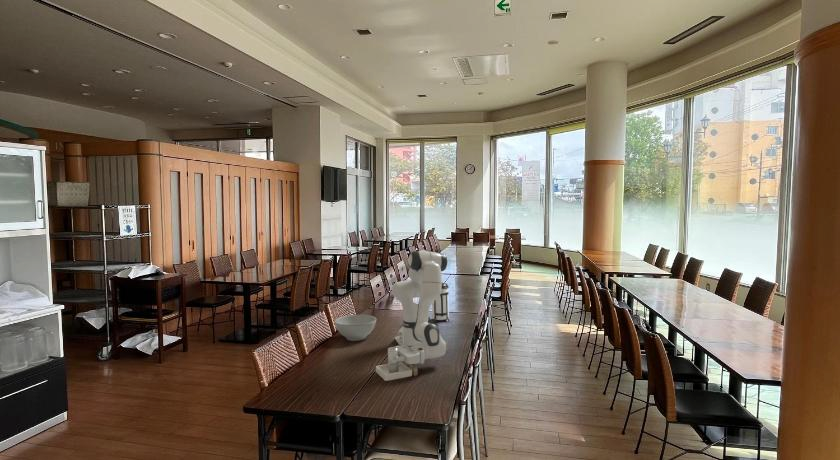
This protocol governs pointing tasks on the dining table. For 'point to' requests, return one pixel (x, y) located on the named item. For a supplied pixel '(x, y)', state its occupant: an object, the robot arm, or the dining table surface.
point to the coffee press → (441, 305)
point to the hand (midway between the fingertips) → (391, 356)
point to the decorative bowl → (355, 326)
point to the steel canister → (393, 359)
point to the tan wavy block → (412, 368)
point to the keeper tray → (384, 373)
